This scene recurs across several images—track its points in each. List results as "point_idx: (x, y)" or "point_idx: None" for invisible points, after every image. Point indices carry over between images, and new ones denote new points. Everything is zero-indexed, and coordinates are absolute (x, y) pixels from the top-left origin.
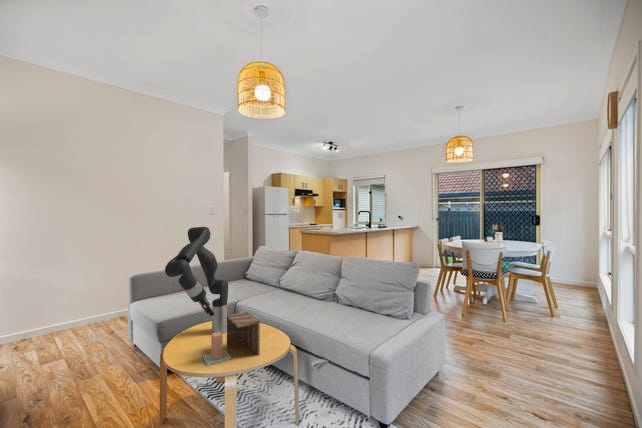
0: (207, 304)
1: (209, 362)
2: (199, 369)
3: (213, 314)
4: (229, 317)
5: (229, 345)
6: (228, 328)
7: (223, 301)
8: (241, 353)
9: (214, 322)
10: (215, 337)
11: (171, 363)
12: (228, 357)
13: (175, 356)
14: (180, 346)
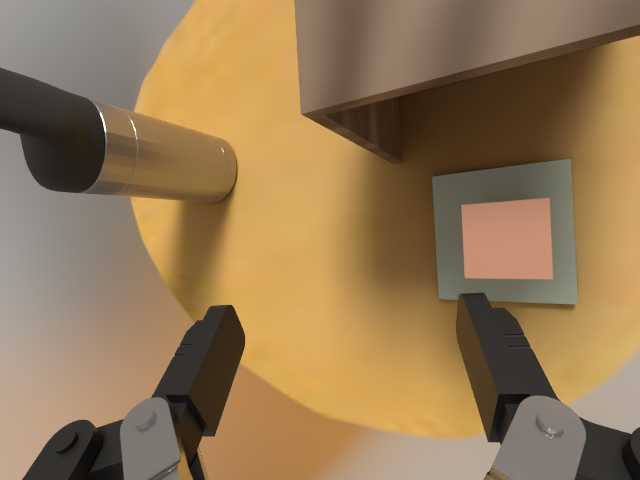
0: (226, 351)
1: (557, 287)
2: (597, 349)
3: (505, 313)
4: (365, 91)
5: (398, 147)
6: (362, 129)
7: (68, 114)
8: (517, 91)
9: (184, 190)
10: (550, 261)
11: (429, 435)
12: (554, 173)
13: (364, 396)
14: (279, 349)
